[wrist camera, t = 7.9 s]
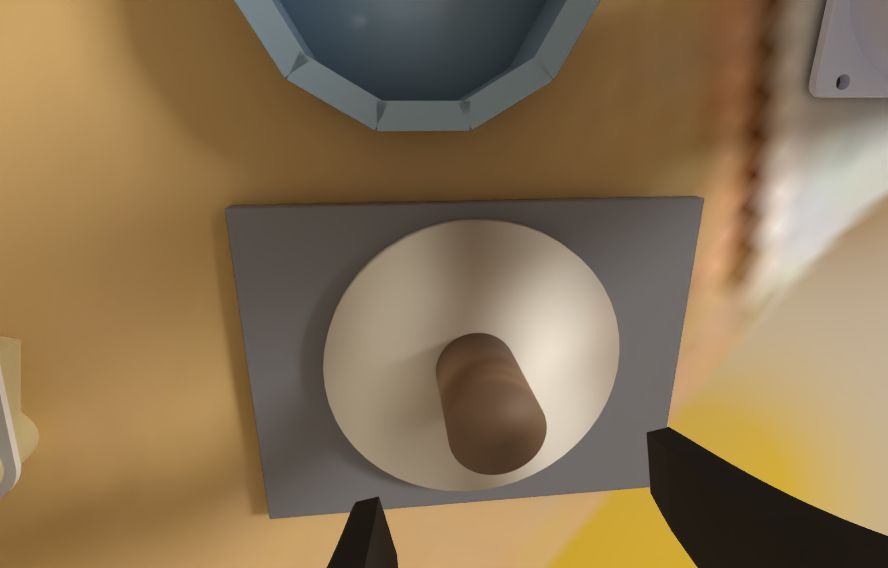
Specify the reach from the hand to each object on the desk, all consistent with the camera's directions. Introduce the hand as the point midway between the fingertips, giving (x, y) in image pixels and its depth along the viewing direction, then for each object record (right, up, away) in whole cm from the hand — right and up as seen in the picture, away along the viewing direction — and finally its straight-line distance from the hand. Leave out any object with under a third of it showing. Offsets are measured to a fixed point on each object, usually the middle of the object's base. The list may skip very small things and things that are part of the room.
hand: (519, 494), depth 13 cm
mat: (-1, +2, +7) cm, 8 cm away
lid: (-1, +2, +6) cm, 7 cm away
